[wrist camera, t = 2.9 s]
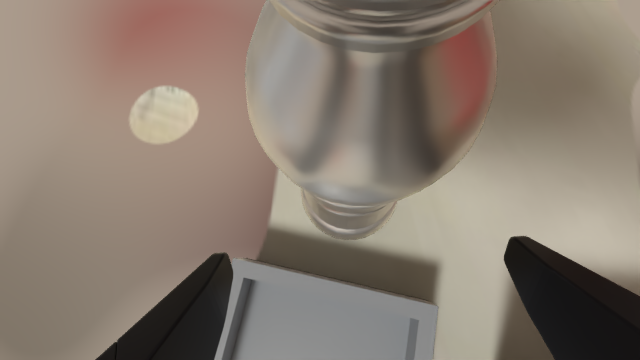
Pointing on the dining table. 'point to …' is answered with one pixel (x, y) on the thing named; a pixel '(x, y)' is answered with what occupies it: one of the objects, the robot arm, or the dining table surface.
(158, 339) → the robot arm
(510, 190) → the dining table surface
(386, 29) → the plastic bottle
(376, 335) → the grey square tray
